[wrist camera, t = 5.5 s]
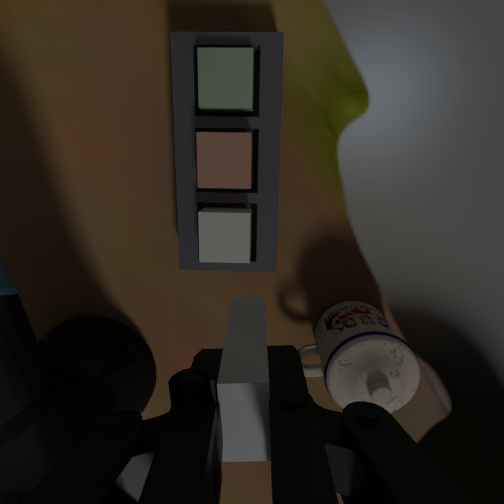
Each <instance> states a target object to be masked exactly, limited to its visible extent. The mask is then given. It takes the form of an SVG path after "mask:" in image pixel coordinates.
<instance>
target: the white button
mask: <svg viewBox="0 0 504 504" xmlns="http://www.w3.org/2000/svg"><path fill="white" fill-rule="evenodd" d="M251 218H252V208H221V207H204V208H203V209H202V210H200V211H199V212H198V222H199V262H218V263H250V257H251Z"/></svg>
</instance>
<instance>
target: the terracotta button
mask: <svg viewBox="0 0 504 504" xmlns="http://www.w3.org/2000/svg"><path fill="white" fill-rule="evenodd" d="M196 140H197V181H198V188H230V189H251V187H252V151H253V135H252V133H231V132H196Z"/></svg>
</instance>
